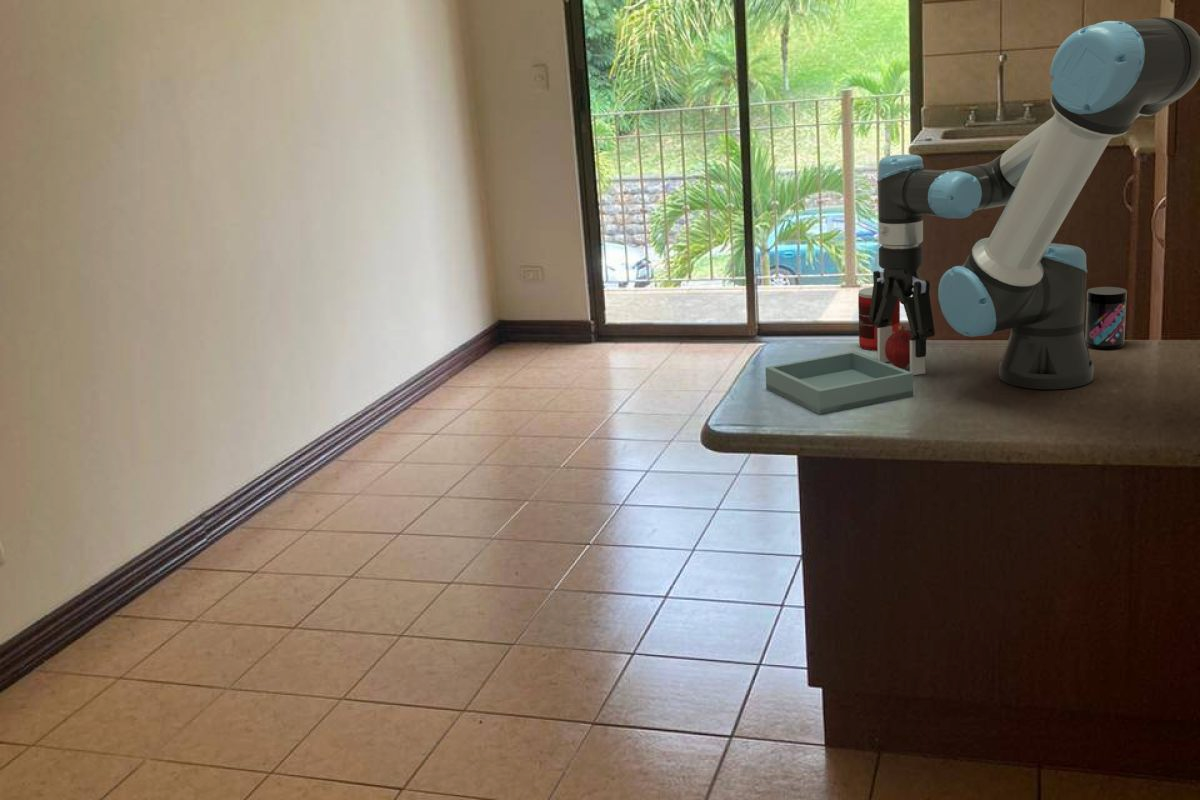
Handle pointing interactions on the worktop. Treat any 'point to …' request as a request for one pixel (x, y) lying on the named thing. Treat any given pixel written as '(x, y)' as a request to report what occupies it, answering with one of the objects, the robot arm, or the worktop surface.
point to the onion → (898, 348)
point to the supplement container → (1105, 317)
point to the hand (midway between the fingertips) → (900, 367)
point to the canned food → (868, 328)
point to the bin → (839, 382)
